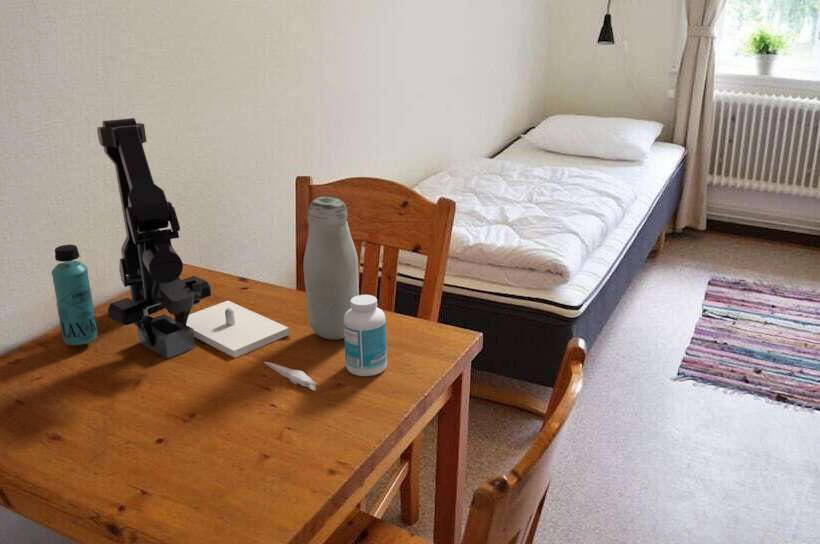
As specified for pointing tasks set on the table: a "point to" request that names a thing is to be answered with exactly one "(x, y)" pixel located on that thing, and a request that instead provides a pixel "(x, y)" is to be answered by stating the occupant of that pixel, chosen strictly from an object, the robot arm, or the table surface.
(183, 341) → the steel link
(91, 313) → the beverage bottle
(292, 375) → the white elongated figurine
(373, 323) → the pill bottle
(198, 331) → the keeper board
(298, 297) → the table surface
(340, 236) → the glass bottle
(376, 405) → the table surface
